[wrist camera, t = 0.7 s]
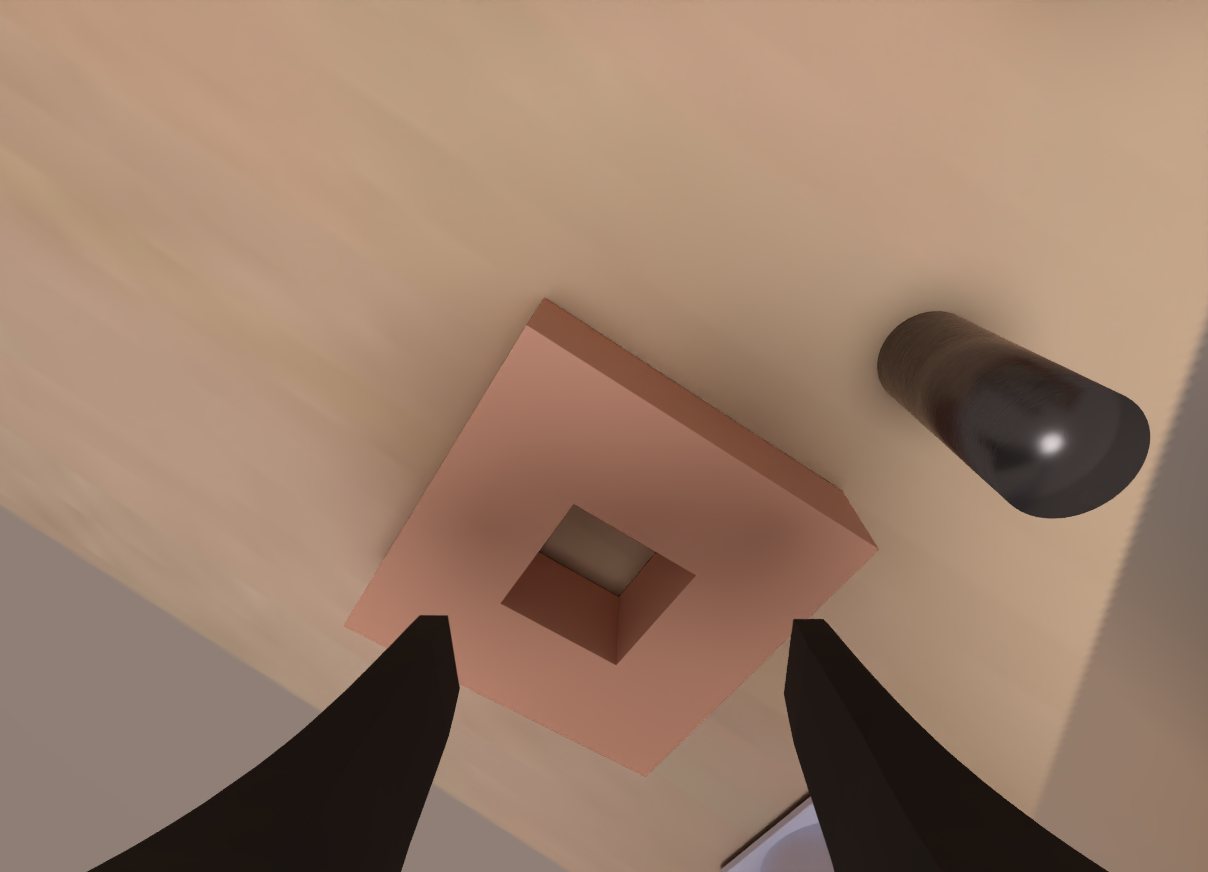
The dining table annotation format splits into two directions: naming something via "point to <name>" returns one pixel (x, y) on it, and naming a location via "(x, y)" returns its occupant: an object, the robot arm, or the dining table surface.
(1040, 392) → the peg
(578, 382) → the socket block
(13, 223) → the dining table surface
